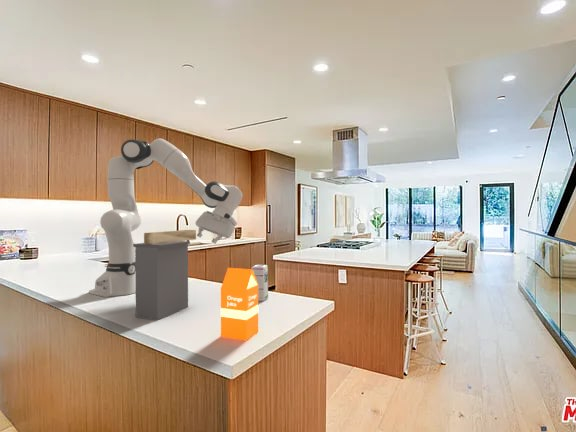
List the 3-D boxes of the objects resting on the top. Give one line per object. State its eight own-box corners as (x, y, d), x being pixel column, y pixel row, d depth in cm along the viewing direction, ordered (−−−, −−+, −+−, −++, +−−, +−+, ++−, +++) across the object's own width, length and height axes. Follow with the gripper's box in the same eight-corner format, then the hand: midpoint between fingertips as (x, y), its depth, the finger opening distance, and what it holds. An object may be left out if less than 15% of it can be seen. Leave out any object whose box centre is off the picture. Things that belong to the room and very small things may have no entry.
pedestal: (133, 316, 113) (133, 244, 113) (165, 304, 128) (165, 240, 128) (159, 320, 109) (159, 245, 109) (190, 307, 124) (189, 241, 123)
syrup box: (264, 301, 132) (264, 266, 132) (251, 300, 134) (251, 266, 134) (268, 297, 138) (268, 264, 138) (255, 297, 139) (255, 264, 139)
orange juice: (246, 341, 91) (246, 271, 91) (220, 336, 94) (220, 269, 94) (258, 331, 98) (258, 267, 98) (234, 327, 101) (234, 265, 101)
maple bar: (144, 244, 112) (144, 232, 112) (188, 239, 135) (188, 229, 135) (152, 244, 111) (152, 233, 111) (196, 239, 133) (195, 229, 133)
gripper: (202, 206, 155) (186, 230, 150) (234, 217, 146) (218, 243, 141) (208, 213, 160) (193, 236, 155) (240, 224, 151) (225, 249, 146)
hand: (205, 239), depth 148 cm, fingers open, 8 cm apart
